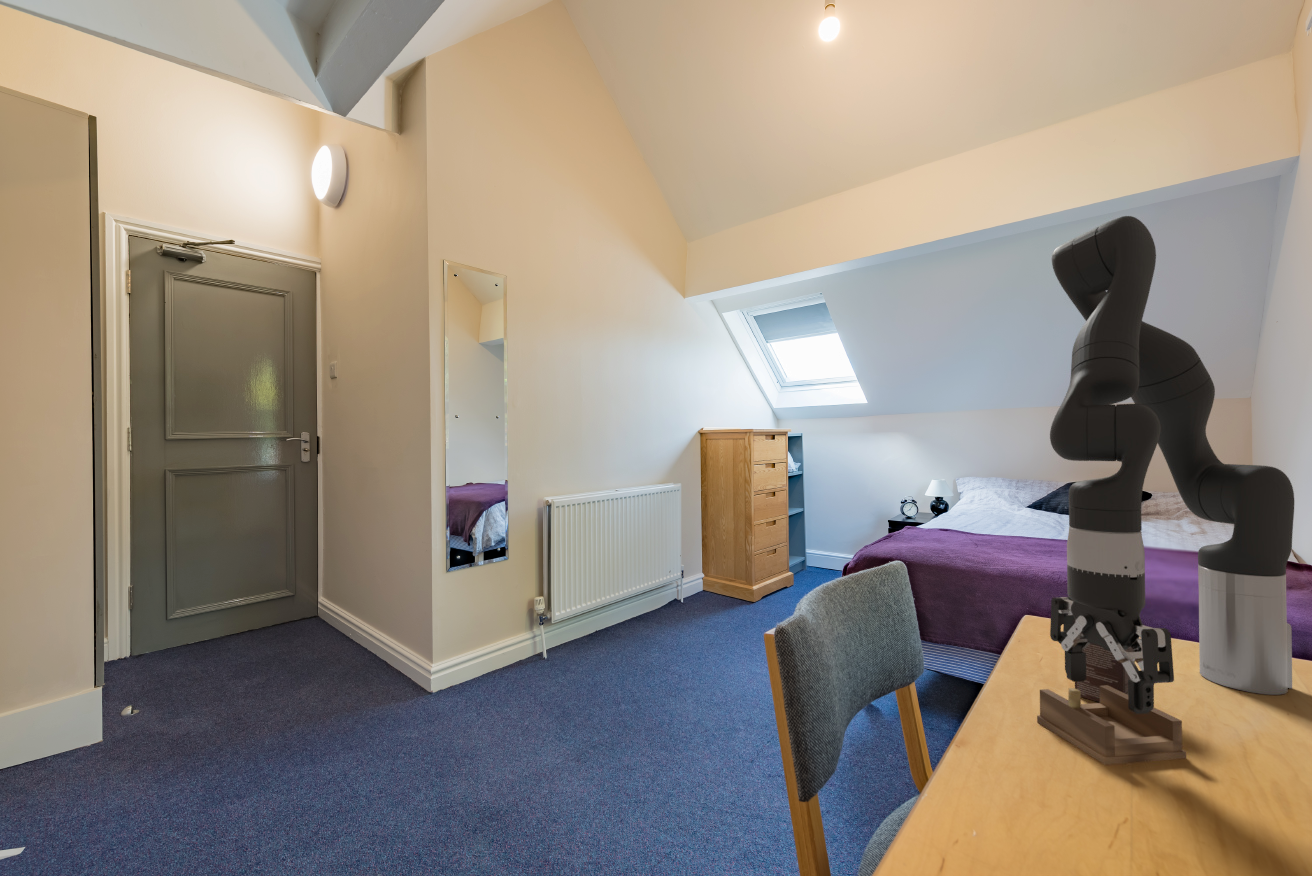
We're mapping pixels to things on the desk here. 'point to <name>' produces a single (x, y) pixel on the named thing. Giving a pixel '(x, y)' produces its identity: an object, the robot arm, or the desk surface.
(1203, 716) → the desk surface
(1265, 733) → the desk surface
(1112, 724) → the drawer
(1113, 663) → the box
